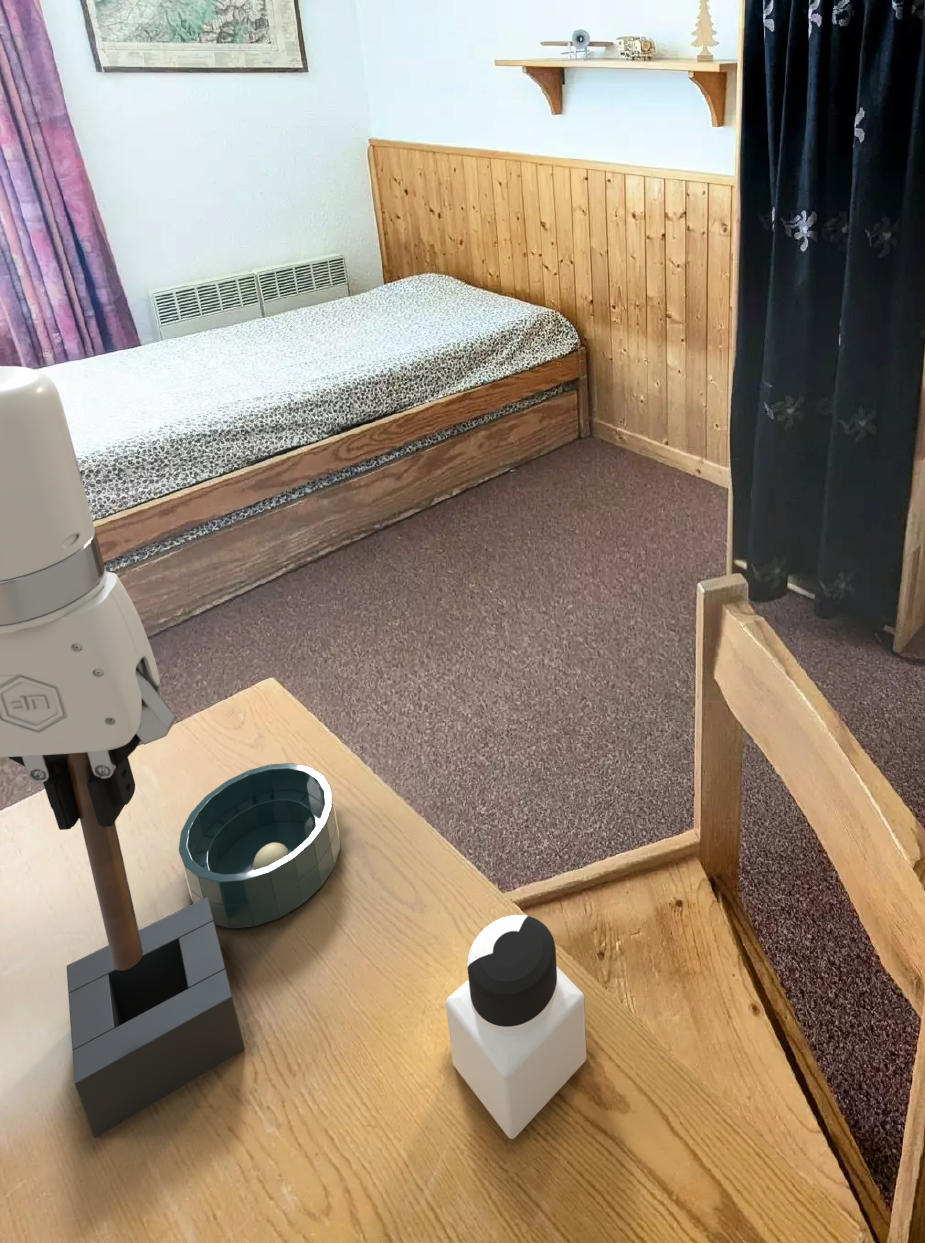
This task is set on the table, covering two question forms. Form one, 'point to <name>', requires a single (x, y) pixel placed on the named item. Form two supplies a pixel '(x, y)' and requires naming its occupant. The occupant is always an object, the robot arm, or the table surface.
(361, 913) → the table surface
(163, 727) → the robot arm
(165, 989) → the holder
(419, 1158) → the table surface
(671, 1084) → the table surface
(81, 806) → the spurtle
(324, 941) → the table surface
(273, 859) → the beige egg
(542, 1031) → the medicine bottle
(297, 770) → the bowl
